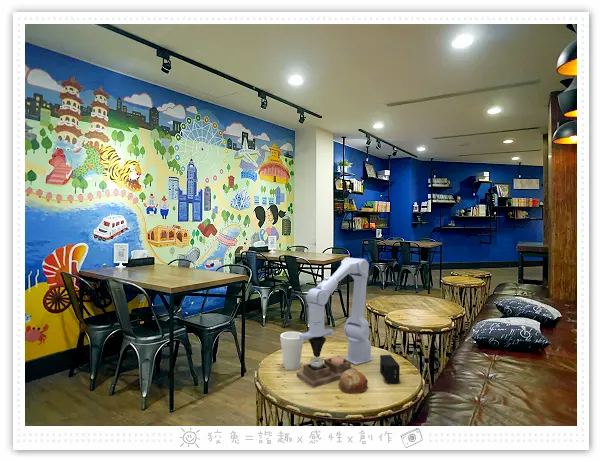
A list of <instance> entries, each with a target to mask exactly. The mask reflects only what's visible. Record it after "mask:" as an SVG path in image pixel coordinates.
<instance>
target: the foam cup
mask: <svg viewBox="0 0 600 460" xmlns="http://www.w3.org/2000/svg"><path fill="white" fill-rule="evenodd" d="M300 334H303V332H299V331H285V332H282V333H281V334H279V336H280V340H279V341H280V345H281V354H282V361H283V367H285V368H284V369H286V370H288V369H289V371H294V370H295V371H296V370H298V369H300V367H301V360H302V352H303V344H304V341H301V340H299V335H300Z"/></svg>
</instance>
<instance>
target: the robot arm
mask: <svg viewBox="0 0 600 460" xmlns="http://www.w3.org/2000/svg"><path fill="white" fill-rule="evenodd" d="M369 266H370V264H369V262H368V261H367V259H365V258H359V257H358V258H356V257H355V258H354V257H348V256H347V257H344V258H343V259H342V260H341V262H340V266H339V267H338V268H337V270H336V271H335V272H334V273H332V275H331V276H325V277H324V278H323V280H322V281H321V282H320V283H319V284H318V285H316V287H313V288H310V289H309V290H308V291H307V294H306V296H305V300H306V302H307V305H308V309H309V319H308V320H309V327H308V331H306V332H302V334H300V335H299V340H301V341H303V342H304V341H306V340H308V342H309V344H310V346H311V350H312V353H313V356H314V358H316V357H317V358H321V357H320V356H321V352H322V349H323V346H324V344H325V343H326V341H327V338H326V337H325V336H329V335H330V336H331V335H332V336H333V335H334V334H335V333H334V329H333V328H325V322H326V321H325V320H326V319H325V313H326V312H325V310H326V307H325V305H326V304H327V303H328V301H329V298H330V296H331V294H332V293H334V291H335V290H336V289H337V288H338V283H339V282H341V280H343V279H344V278H345V277H346V276H348V275H349V276H350V277H352V279H353V291H352V292H353V293H352V304H351V314H350V316H349V317H347V318H346V320H345V325H344V328H343V332H344V335H345V336H346V339H347V356H344V357H343V358H344V359H346V360H348V361H350V362H351V363H352V364H353V365H360V364H364V363H368V362H371V361H373V359H372V357H371V356H372V352H371V351H372V349H371V348H372V344H371V342H370V341H371V340H370V339H369V338H370V333H371V331H370V323H369V321H368V320H367V319H366V318H365V306H366V296H367V295H366V294H367V283H368V278H369V268H370V267H369Z"/></svg>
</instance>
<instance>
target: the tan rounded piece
mask: <svg viewBox="0 0 600 460" xmlns="http://www.w3.org/2000/svg"><path fill="white" fill-rule="evenodd" d="M330 358H331V362H332V363H333V364H335V365H338V364H342V363H343V360H344V359H343V358H344V357H342V356H340V357H336V356H332V357H330Z"/></svg>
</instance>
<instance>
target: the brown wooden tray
mask: <svg viewBox="0 0 600 460" xmlns="http://www.w3.org/2000/svg"><path fill="white" fill-rule="evenodd" d="M335 357H341V356H340V355H337V356H335ZM331 358H332V357H330V358H326V359H323V369H320V370H312V369H311V368H310V363H306V364H303V366H302V370H300V371H297V372H296V377H297V378H299V379H300V380H301V381H302V382H304V383H305V384H307V385H308V386H310V387H311V388H312V389H313V388H317V387H319V386H323V385H327V384H330V383H333V382H335V381H340V377H341V375H342V373H343V372H345V371H346V370H349V369H351V370H355V371H358V369H355V368H354V367H352V364H351V362H350V361H348V360H346V359H344V357H342V358H343V359H344V360H343V363H342V364H338V365H335V364H333V363H332V362H331Z"/></svg>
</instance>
